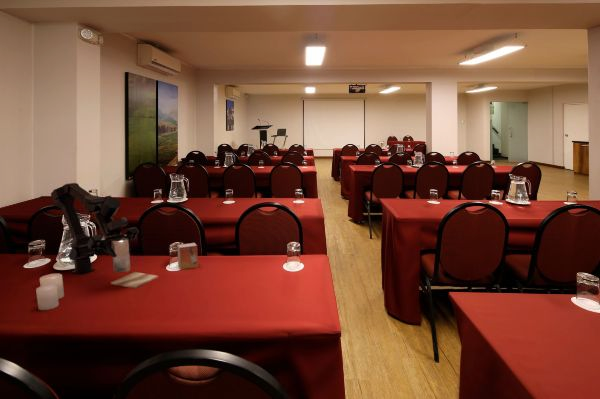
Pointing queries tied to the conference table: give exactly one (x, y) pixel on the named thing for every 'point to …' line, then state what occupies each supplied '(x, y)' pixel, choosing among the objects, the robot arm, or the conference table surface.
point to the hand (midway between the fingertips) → (122, 254)
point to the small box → (187, 256)
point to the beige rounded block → (53, 282)
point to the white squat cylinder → (47, 297)
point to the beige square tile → (134, 280)
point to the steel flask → (121, 255)
